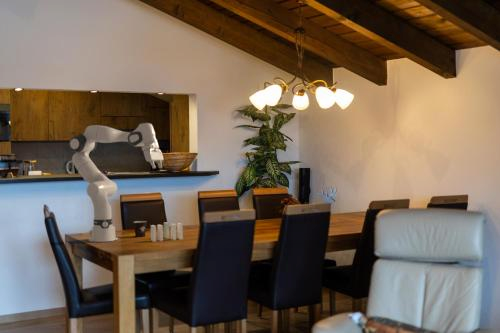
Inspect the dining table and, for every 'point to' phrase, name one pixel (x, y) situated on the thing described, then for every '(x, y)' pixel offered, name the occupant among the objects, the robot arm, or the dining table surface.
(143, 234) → the coffee mug
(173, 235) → the domino
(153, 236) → the domino
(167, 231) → the domino
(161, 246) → the dining table surface
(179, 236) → the domino
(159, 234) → the domino
